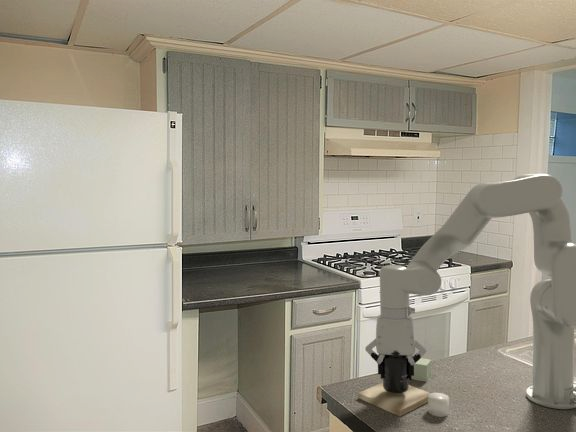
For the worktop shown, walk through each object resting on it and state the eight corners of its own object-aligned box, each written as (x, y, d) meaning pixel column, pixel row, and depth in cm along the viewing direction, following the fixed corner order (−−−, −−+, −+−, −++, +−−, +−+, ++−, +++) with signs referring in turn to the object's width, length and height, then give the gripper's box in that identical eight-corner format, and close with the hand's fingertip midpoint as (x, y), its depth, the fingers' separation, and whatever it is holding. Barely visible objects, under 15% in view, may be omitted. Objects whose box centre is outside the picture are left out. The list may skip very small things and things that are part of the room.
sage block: (431, 376, 146) (431, 359, 146) (426, 382, 142) (426, 365, 142) (414, 373, 149) (414, 357, 149) (409, 379, 145) (409, 362, 144)
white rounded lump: (452, 412, 123) (452, 397, 123) (441, 419, 120) (441, 403, 120) (435, 405, 127) (435, 390, 127) (424, 412, 124) (424, 396, 124)
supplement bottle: (409, 394, 127) (408, 349, 127) (382, 393, 129) (381, 348, 128) (408, 384, 134) (407, 341, 133) (383, 382, 136) (382, 340, 135)
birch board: (432, 399, 131) (432, 393, 131) (400, 416, 122) (400, 410, 122) (391, 383, 142) (391, 378, 141) (358, 398, 133) (358, 392, 133)
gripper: (427, 309, 132) (427, 373, 133) (362, 307, 135) (363, 370, 137) (430, 316, 125) (430, 384, 126) (361, 315, 128) (362, 381, 129)
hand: (395, 376), depth 131 cm, fingers closed on supplement bottle, 6 cm apart
